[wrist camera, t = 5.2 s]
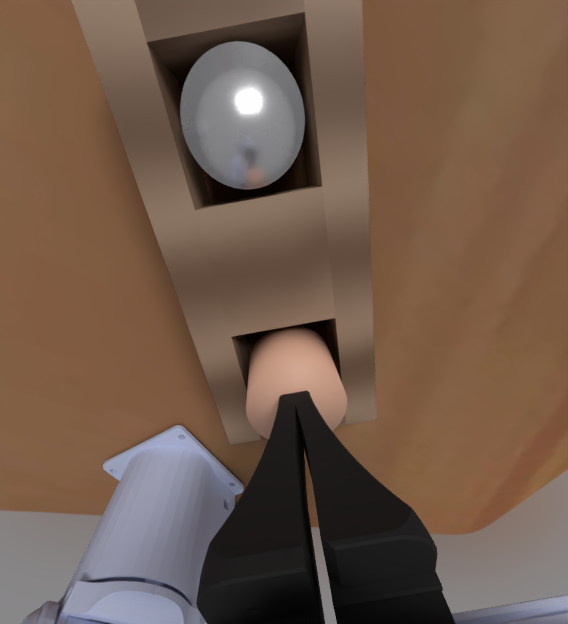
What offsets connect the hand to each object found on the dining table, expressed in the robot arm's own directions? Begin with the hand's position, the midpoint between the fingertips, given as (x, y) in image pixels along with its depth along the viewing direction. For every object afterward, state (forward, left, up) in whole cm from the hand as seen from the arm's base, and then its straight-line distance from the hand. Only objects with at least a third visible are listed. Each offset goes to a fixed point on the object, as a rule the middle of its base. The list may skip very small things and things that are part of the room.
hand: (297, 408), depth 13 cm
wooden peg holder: (+6, -2, -7) cm, 9 cm away
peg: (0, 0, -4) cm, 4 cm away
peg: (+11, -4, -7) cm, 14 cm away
